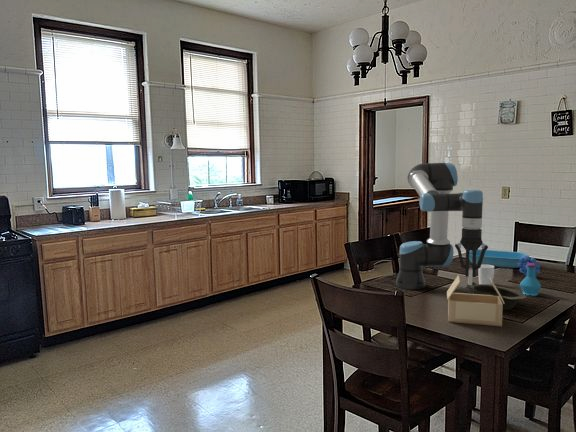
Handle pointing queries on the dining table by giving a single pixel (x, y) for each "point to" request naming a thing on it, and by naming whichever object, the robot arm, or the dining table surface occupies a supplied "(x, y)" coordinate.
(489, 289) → the stone bowl
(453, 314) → the carton
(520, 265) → the grapes
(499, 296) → the flap
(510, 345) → the dining table surface
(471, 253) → the casserole dish
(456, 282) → the flap
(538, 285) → the perfume bottle
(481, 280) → the white cup
